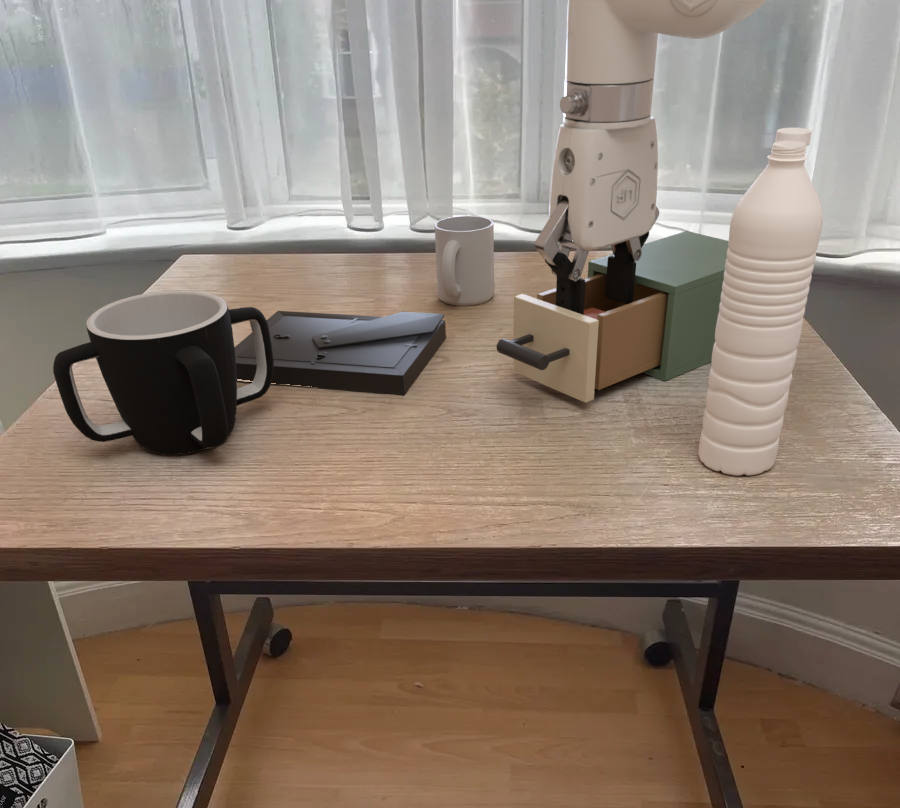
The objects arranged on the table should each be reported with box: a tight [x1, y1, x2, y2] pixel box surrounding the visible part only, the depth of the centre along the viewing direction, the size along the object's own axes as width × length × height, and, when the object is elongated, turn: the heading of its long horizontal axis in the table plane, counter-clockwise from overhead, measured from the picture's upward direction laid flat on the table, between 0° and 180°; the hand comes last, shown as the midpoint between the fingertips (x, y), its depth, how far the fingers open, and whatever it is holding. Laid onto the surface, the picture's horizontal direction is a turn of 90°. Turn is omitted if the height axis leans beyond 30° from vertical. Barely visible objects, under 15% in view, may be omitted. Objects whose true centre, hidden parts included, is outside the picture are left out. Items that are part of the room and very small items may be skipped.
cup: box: [434, 215, 495, 307], centre depth 111 cm, size 7×10×9 cm
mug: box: [52, 290, 274, 455], centre depth 82 cm, size 16×16×12 cm
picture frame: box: [234, 310, 447, 396], centre depth 99 cm, size 16×3×21 cm
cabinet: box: [587, 230, 729, 382], centre depth 96 cm, size 16×12×10 cm
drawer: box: [496, 273, 669, 404], centre depth 90 cm, size 19×10×8 cm, turn 129°
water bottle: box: [697, 127, 824, 476], centre depth 71 cm, size 9×6×25 cm
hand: (594, 307), depth 88 cm, fingers open, 6 cm apart
